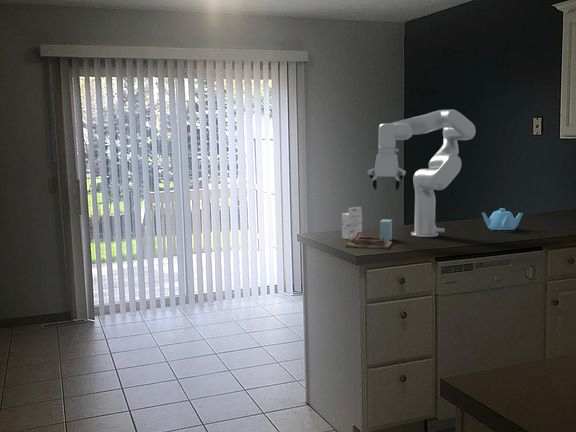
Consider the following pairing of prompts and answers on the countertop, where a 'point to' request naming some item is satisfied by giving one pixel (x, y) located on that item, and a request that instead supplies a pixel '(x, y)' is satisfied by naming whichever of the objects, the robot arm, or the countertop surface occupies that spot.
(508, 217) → the teapot
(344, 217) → the ink cartridge box
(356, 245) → the cradle
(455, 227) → the countertop surface
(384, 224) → the key block
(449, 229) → the countertop surface
